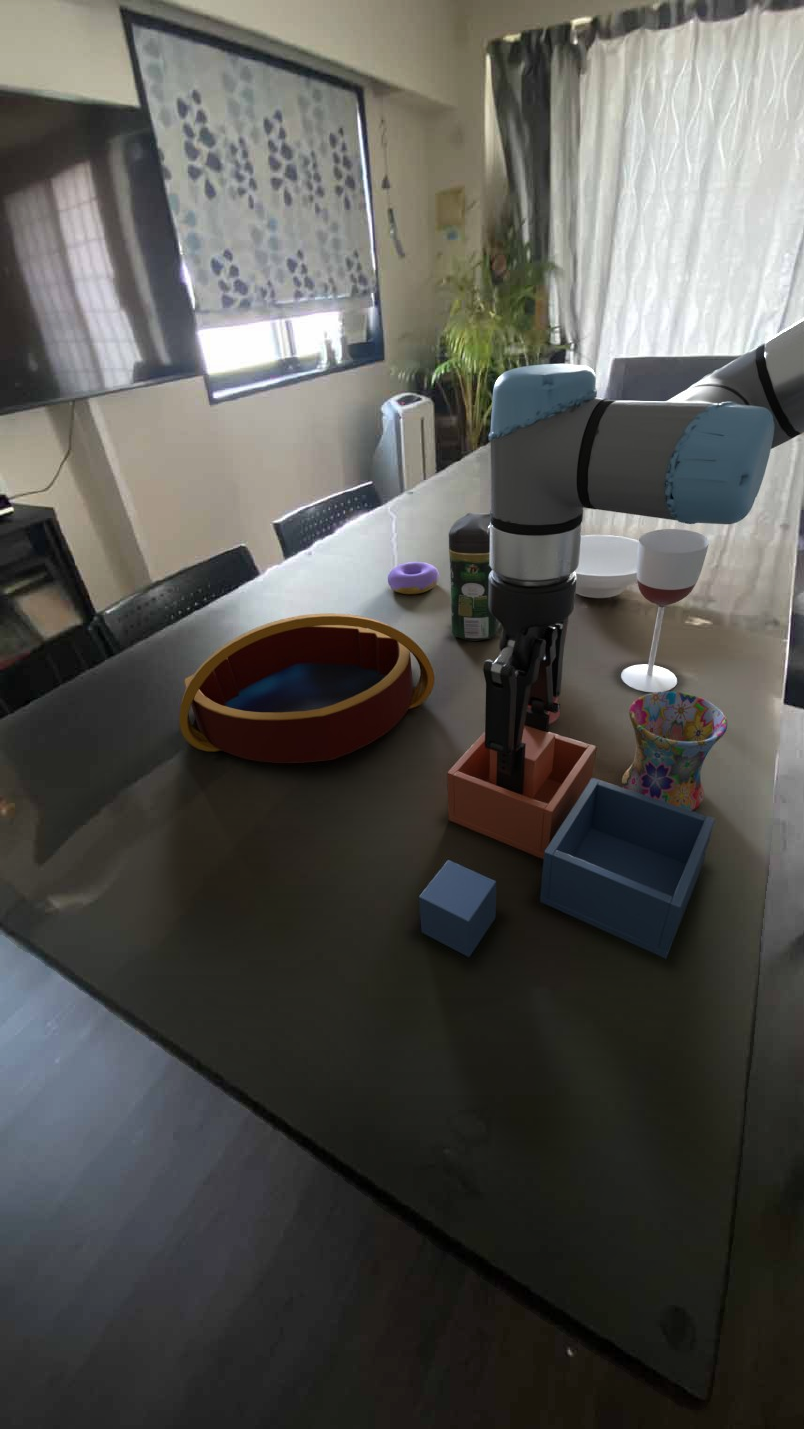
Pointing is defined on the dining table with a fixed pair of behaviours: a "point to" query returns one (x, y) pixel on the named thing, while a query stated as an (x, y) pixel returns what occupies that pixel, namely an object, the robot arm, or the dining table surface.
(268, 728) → the decorative basket
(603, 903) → the slate bin
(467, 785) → the terracotta bin
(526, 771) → the terracotta block
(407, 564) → the donut
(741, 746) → the dining table surface
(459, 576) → the coffee jar
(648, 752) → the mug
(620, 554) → the bowl
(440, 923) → the slate block
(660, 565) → the wineglass
